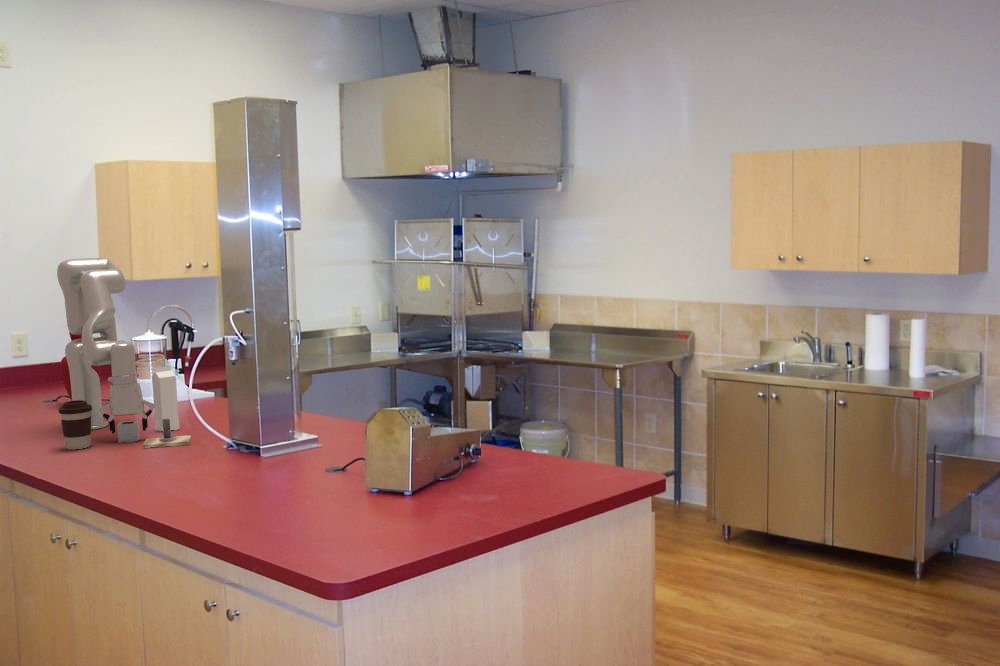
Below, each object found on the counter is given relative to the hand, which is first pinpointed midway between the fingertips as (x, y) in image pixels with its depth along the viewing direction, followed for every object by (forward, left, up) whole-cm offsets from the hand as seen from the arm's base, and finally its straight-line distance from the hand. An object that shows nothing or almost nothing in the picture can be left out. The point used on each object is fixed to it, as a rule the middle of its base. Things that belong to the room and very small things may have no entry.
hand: (129, 431), depth 341 cm
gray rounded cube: (0, 0, -3) cm, 3 cm away
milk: (+11, +14, -3) cm, 18 cm away
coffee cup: (-15, -5, -3) cm, 16 cm away
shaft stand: (+13, -10, -3) cm, 16 cm away
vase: (-26, +78, -3) cm, 83 cm away
